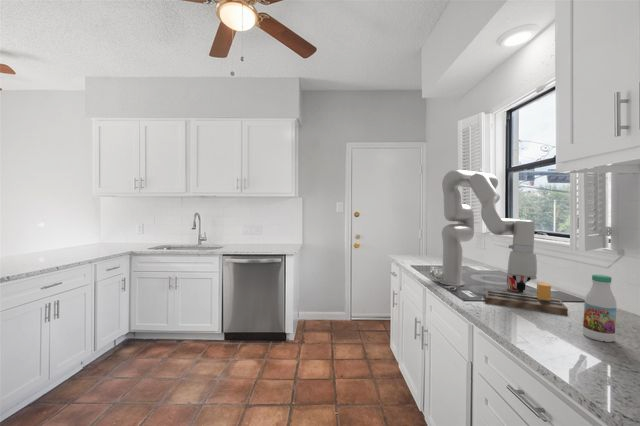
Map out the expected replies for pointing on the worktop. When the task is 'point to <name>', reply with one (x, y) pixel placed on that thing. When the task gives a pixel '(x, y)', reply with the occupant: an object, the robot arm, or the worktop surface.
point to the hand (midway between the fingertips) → (520, 291)
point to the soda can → (513, 283)
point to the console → (525, 302)
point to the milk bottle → (600, 310)
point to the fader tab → (543, 291)
